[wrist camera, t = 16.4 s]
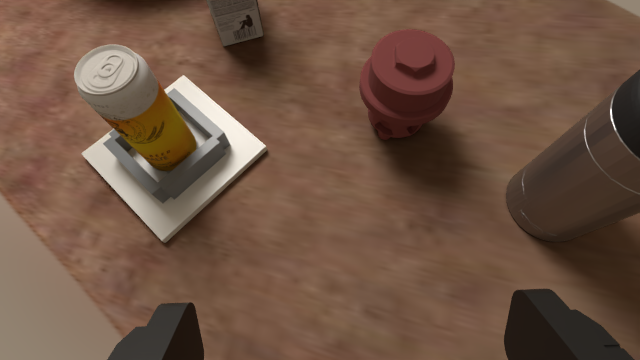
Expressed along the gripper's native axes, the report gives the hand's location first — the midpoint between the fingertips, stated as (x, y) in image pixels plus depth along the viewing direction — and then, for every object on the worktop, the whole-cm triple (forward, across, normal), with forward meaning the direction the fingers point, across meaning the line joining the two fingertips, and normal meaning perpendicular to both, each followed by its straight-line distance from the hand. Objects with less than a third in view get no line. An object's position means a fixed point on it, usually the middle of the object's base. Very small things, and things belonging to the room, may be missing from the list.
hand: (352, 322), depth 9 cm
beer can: (+36, +18, +6) cm, 41 cm away
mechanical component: (+39, -9, +4) cm, 41 cm away
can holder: (+37, +18, +7) cm, 42 cm away
